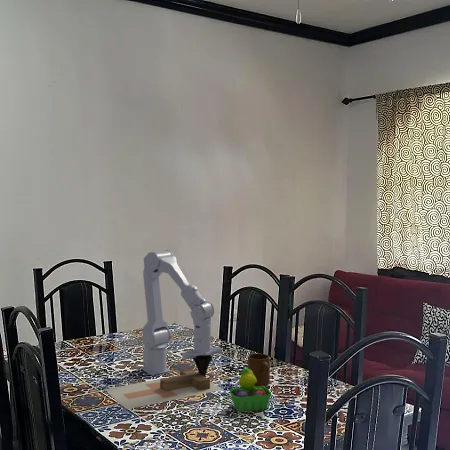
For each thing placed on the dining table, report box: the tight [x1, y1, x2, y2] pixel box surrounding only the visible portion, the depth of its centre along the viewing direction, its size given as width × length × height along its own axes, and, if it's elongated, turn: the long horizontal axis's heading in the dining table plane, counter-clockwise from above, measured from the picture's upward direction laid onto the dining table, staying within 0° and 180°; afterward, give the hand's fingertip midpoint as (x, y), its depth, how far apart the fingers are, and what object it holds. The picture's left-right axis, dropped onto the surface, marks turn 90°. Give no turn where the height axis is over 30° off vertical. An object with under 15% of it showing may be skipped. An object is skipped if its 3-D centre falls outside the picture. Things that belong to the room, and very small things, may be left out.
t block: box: [159, 368, 211, 391], centre depth 191 cm, size 14×14×3 cm
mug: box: [247, 353, 271, 387], centre depth 192 cm, size 12×8×9 cm, turn 16°
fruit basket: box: [229, 367, 272, 413], centre depth 173 cm, size 11×9×11 cm
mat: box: [103, 378, 224, 410], centre depth 188 cm, size 20×34×1 cm, turn 121°
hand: (202, 376), depth 195 cm, fingers closed
